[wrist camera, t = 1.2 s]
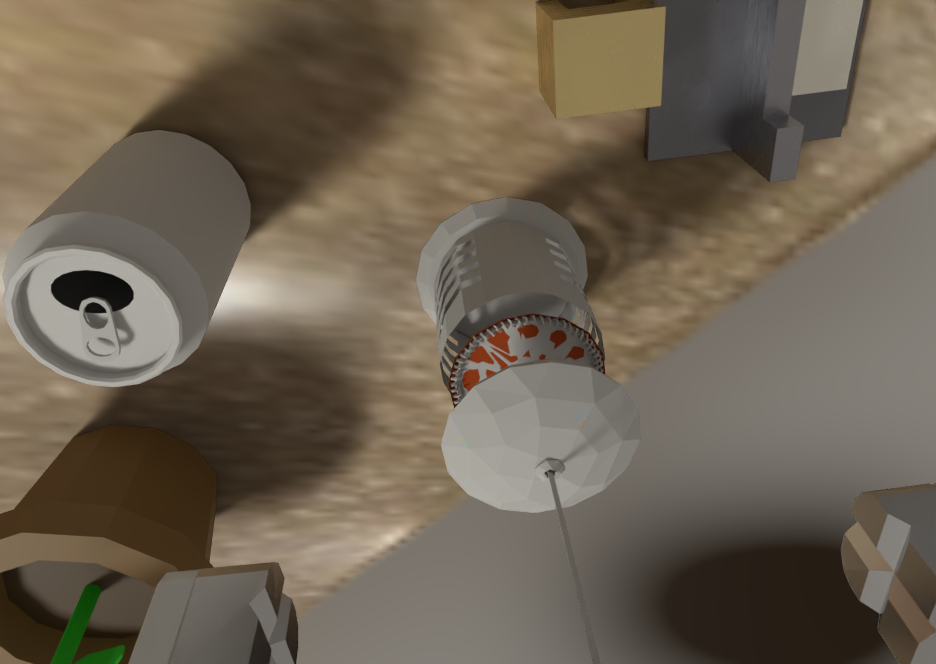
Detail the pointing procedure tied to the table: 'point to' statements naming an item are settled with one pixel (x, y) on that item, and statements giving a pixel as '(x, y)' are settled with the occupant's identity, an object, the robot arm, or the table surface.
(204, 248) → the can
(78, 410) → the table surface
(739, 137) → the rail
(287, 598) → the robot arm
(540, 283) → the french press
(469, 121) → the table surface
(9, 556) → the flowerpot
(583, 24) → the clip
